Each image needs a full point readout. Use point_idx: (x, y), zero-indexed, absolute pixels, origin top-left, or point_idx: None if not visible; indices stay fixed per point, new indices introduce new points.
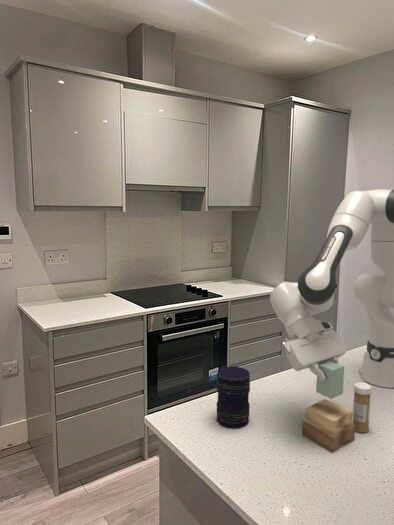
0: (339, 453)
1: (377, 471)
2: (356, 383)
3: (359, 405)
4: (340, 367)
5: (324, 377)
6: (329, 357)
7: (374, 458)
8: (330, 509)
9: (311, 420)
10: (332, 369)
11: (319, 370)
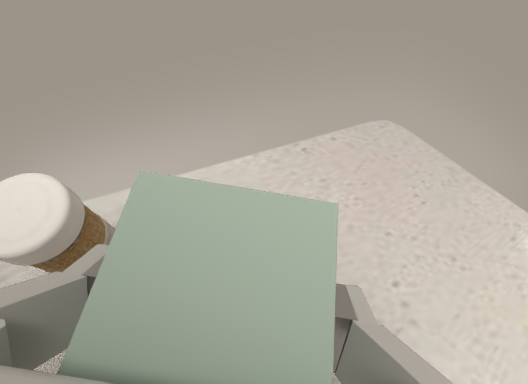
0: None
1: (283, 167)
2: (3, 247)
3: (108, 237)
4: (201, 183)
5: (356, 288)
6: (80, 380)
7: (241, 186)
8: (455, 186)
9: None
10: (319, 216)
11: (399, 346)
